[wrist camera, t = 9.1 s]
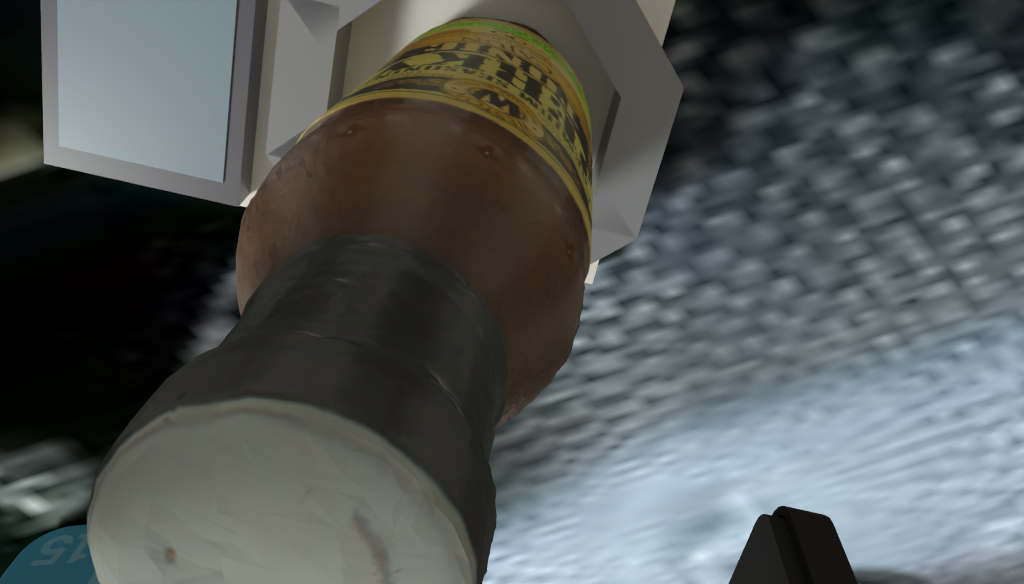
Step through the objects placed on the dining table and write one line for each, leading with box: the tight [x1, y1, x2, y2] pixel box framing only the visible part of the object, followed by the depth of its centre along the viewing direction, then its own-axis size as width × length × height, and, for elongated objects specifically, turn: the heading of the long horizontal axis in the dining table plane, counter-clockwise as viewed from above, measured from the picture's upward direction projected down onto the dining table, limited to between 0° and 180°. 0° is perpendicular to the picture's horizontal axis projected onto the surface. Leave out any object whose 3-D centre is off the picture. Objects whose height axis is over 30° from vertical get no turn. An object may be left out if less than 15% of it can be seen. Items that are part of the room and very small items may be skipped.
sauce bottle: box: [87, 17, 593, 584], centre depth 18 cm, size 6×6×20 cm
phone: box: [41, 0, 268, 206], centre depth 25 cm, size 6×9×1 cm, turn 167°
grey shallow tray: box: [240, 0, 684, 284], centre depth 26 cm, size 19×11×3 cm, turn 77°
